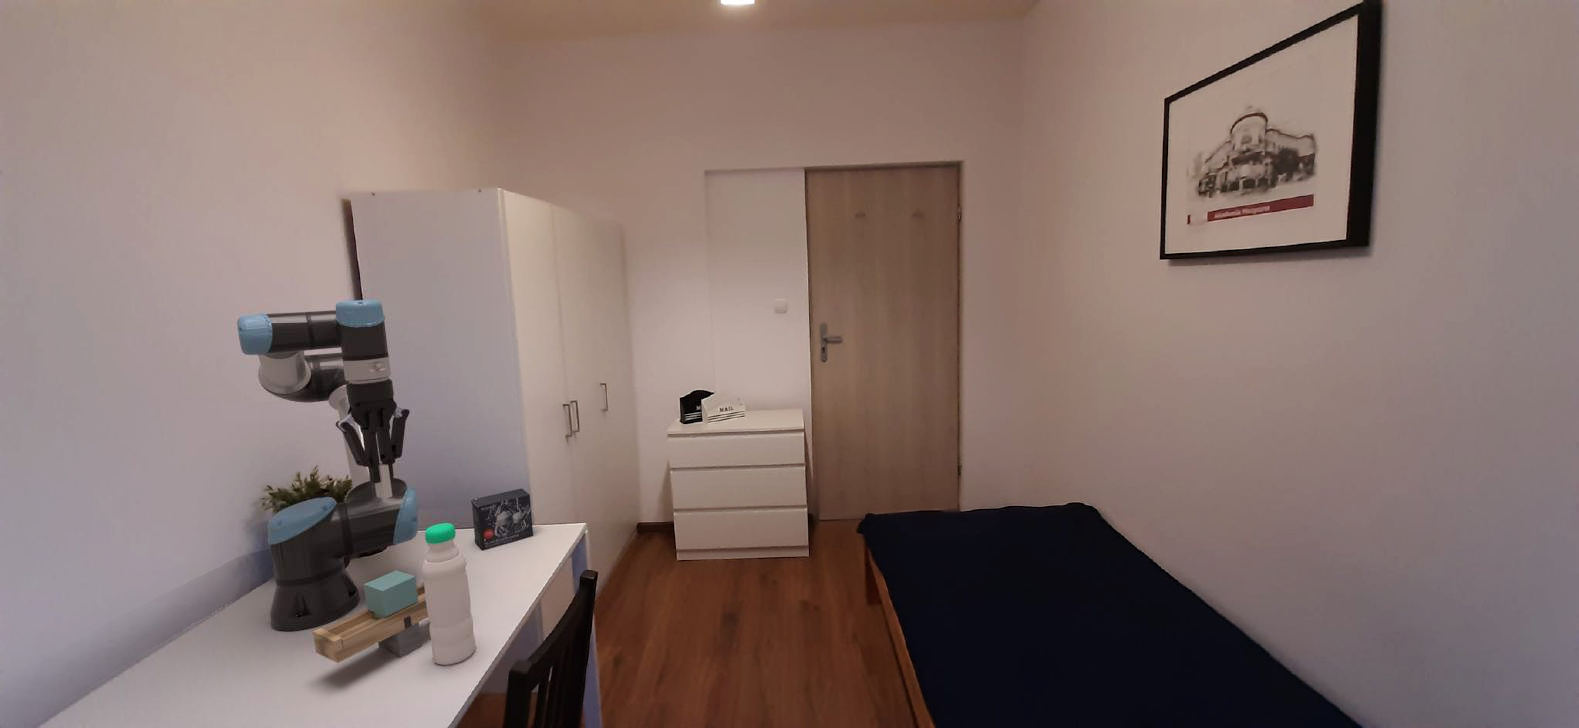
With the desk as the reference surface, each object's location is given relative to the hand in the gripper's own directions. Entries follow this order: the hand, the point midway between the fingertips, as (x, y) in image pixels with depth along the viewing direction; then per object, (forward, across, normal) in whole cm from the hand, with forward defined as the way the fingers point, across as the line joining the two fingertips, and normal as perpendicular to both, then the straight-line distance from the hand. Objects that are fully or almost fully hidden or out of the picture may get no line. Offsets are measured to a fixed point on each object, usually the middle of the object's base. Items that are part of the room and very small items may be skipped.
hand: (384, 496), depth 126 cm
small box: (+27, +36, +14) cm, 47 cm away
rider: (+19, -6, -10) cm, 23 cm away
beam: (+26, -6, -10) cm, 29 cm away
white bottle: (+27, -3, -22) cm, 35 cm away
